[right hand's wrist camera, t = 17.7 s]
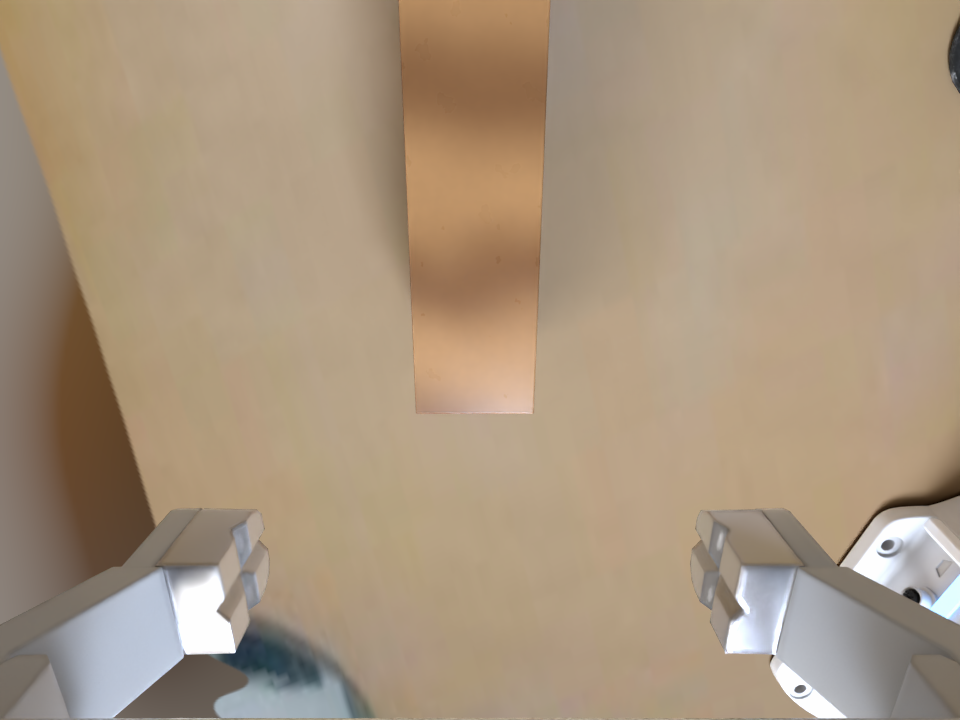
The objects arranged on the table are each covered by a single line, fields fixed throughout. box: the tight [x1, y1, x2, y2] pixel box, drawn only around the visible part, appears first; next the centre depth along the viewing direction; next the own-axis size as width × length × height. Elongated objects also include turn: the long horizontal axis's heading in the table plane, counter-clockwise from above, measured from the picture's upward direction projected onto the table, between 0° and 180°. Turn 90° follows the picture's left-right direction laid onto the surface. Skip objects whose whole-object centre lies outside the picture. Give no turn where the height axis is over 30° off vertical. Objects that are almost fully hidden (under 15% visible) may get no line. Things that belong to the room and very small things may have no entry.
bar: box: [398, 0, 550, 414], centre depth 24 cm, size 23×5×9 cm, turn 0°
